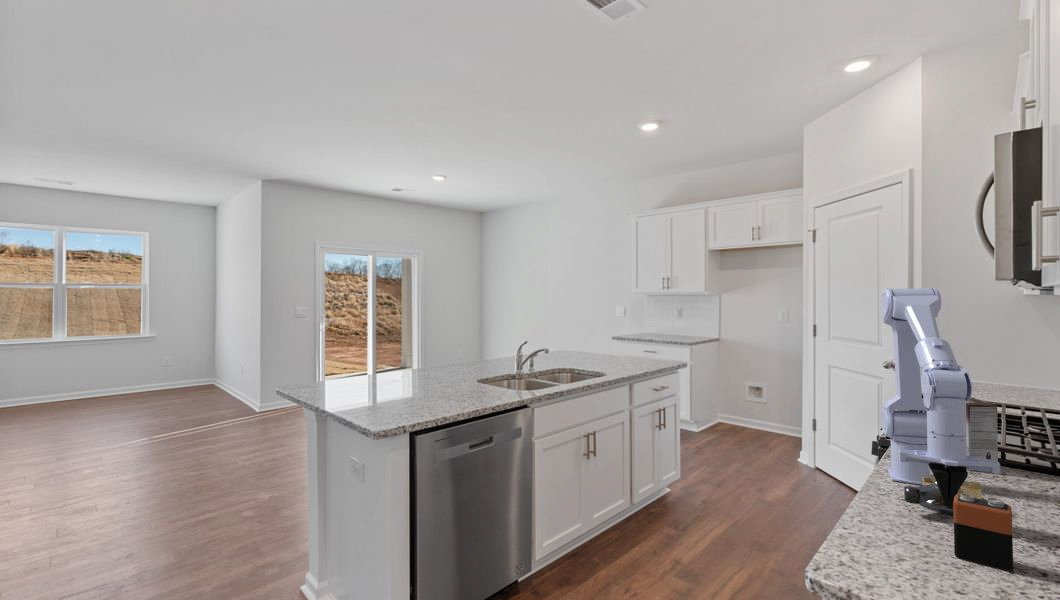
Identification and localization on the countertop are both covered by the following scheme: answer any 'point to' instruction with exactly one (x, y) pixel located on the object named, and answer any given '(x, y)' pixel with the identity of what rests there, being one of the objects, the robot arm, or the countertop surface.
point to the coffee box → (981, 429)
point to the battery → (983, 531)
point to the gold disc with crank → (937, 491)
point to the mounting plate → (939, 507)
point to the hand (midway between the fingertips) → (947, 504)
